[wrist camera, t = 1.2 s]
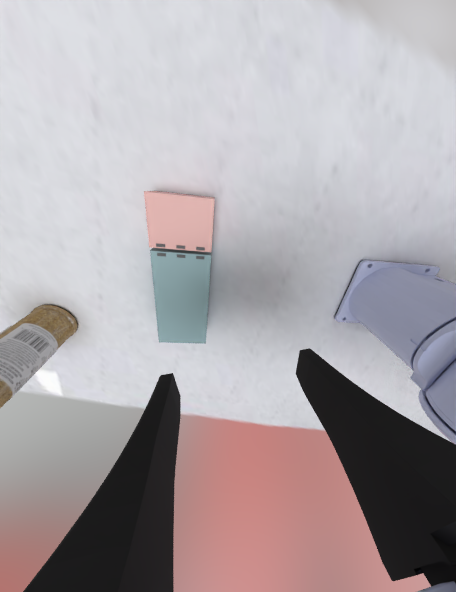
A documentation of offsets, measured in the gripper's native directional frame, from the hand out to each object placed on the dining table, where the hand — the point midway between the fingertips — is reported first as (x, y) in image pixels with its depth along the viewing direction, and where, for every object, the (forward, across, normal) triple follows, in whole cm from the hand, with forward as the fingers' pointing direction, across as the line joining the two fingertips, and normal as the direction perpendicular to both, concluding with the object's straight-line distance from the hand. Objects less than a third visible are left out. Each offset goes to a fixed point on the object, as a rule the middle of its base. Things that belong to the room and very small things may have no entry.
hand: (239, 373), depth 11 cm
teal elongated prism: (+12, +3, 0) cm, 12 cm away
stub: (+12, +2, -7) cm, 14 cm away
